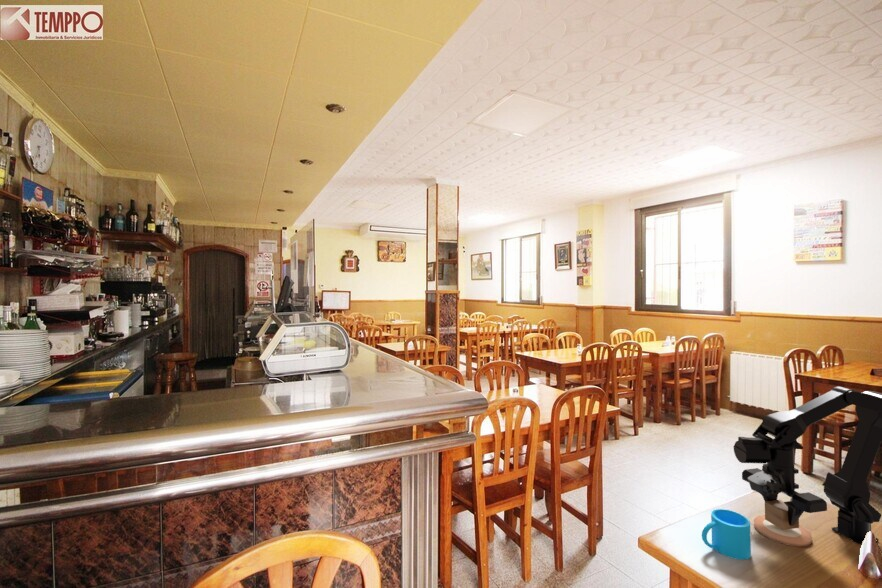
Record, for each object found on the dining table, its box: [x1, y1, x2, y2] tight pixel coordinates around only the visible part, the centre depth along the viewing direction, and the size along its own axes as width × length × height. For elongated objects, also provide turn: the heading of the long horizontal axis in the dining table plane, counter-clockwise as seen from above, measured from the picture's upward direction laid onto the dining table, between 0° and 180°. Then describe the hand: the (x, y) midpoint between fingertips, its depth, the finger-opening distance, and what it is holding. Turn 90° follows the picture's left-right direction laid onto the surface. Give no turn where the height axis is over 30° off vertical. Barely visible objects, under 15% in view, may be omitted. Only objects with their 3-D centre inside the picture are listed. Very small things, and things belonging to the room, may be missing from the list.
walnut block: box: [764, 499, 800, 530], centre depth 108 cm, size 5×5×5 cm
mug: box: [701, 508, 752, 560], centre depth 102 cm, size 12×8×8 cm
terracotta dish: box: [753, 514, 813, 548], centre depth 108 cm, size 12×12×1 cm
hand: (781, 519), depth 108 cm, fingers closed on walnut block, 5 cm apart
